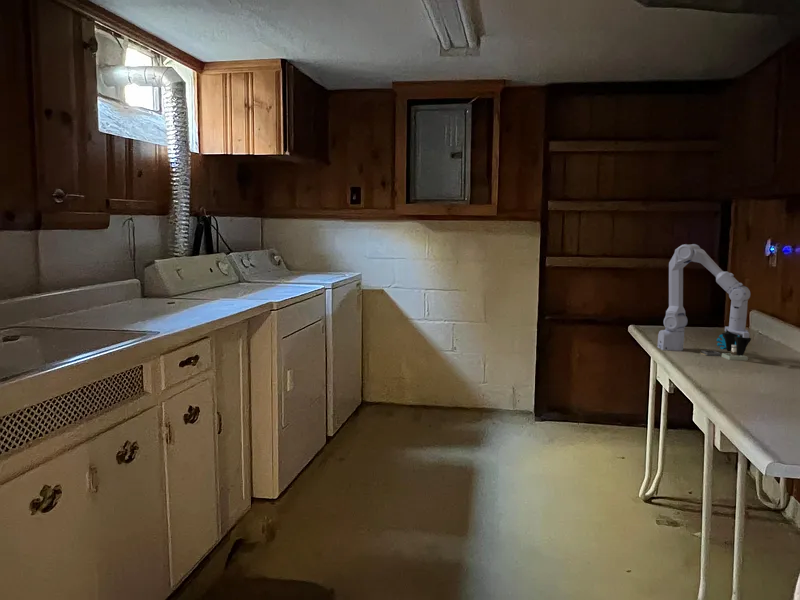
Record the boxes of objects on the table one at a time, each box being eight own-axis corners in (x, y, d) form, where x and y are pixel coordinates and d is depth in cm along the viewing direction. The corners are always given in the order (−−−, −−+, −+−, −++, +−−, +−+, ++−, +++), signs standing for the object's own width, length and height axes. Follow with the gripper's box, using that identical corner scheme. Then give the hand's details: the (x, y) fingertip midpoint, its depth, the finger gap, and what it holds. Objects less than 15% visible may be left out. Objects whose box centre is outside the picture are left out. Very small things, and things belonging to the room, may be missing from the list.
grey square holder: (705, 358, 263) (705, 353, 263) (698, 355, 269) (699, 350, 269) (722, 359, 263) (722, 353, 263) (715, 356, 269) (715, 350, 269)
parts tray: (729, 362, 256) (729, 356, 256) (721, 359, 262) (721, 353, 262) (747, 363, 257) (747, 356, 256) (739, 359, 263) (739, 353, 262)
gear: (714, 347, 279) (720, 328, 284) (712, 355, 283) (718, 336, 288) (743, 354, 274) (748, 335, 278) (741, 362, 278) (747, 343, 283)
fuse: (732, 360, 258) (733, 345, 257) (728, 359, 261) (730, 344, 260) (739, 361, 258) (740, 346, 257) (736, 359, 261) (737, 344, 260)
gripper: (758, 321, 250) (755, 357, 252) (738, 315, 265) (735, 349, 266) (739, 320, 250) (736, 356, 252) (720, 315, 265) (717, 349, 266)
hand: (734, 353), depth 259 cm, fingers open, 7 cm apart
